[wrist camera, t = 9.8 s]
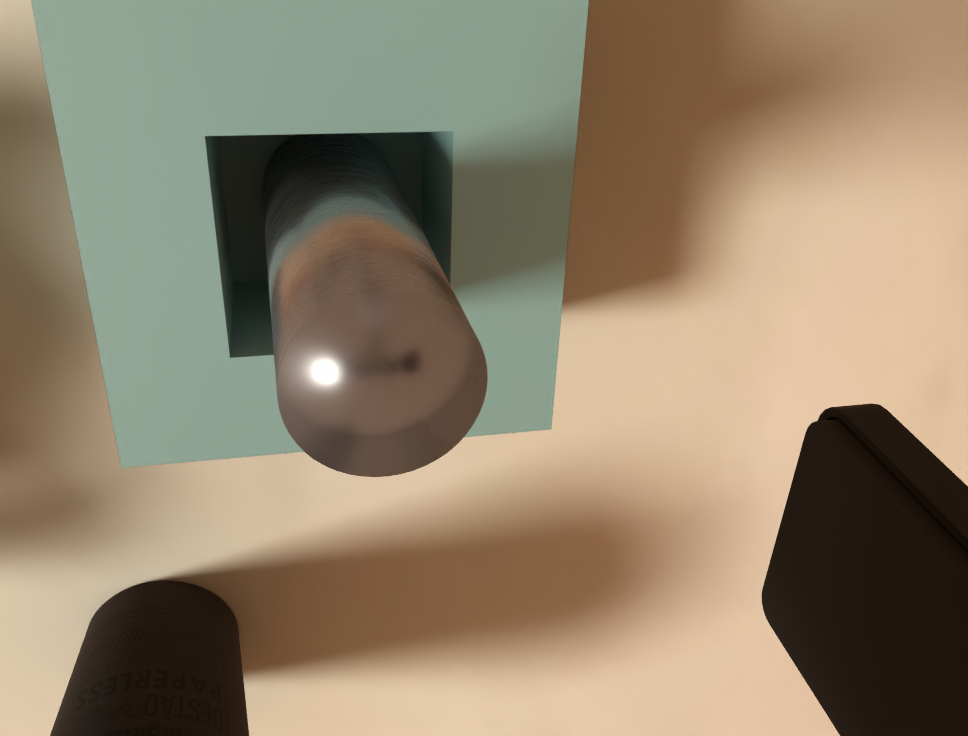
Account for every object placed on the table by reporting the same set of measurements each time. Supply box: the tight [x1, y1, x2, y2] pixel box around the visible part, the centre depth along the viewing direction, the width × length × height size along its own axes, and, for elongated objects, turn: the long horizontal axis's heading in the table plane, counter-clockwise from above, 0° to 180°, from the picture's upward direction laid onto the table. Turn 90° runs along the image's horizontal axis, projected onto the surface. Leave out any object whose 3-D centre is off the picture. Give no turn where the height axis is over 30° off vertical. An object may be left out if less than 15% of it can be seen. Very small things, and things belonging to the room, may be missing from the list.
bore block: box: [31, 0, 589, 468], centre depth 22 cm, size 10×10×6 cm
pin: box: [262, 133, 488, 477], centre depth 18 cm, size 3×3×10 cm
